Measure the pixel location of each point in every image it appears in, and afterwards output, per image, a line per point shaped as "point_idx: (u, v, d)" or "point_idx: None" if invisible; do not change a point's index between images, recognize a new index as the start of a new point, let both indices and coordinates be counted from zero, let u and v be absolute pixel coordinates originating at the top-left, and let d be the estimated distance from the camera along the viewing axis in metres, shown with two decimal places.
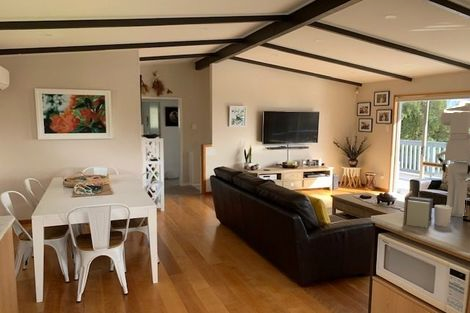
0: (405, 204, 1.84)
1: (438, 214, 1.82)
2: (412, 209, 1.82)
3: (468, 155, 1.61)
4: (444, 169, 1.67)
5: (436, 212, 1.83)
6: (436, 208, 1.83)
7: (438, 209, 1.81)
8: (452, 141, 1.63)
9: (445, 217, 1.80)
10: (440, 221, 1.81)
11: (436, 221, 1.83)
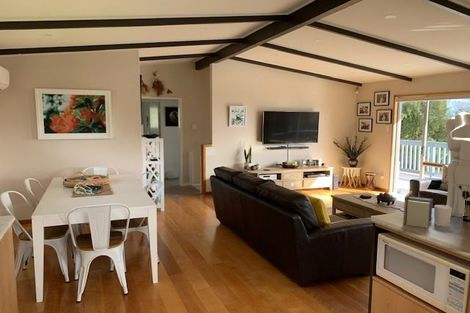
0: (405, 204, 1.84)
1: (438, 214, 1.82)
2: (412, 209, 1.82)
3: None
4: (464, 196, 1.76)
5: (436, 212, 1.83)
6: (436, 208, 1.83)
7: (438, 209, 1.81)
8: (462, 167, 1.75)
9: (445, 217, 1.80)
10: (440, 221, 1.81)
11: (436, 221, 1.83)
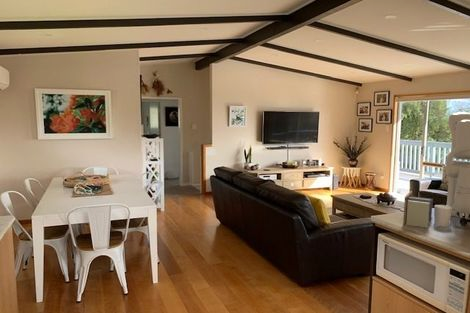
0: (405, 204, 1.84)
1: (438, 214, 1.82)
2: (412, 209, 1.82)
3: None
4: (462, 223, 1.77)
5: (436, 212, 1.83)
6: (436, 208, 1.83)
7: (438, 209, 1.81)
8: (460, 194, 1.76)
9: (445, 217, 1.80)
10: (440, 221, 1.81)
11: (436, 221, 1.83)
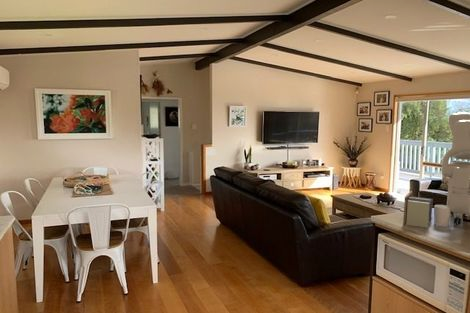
0: (405, 204, 1.84)
1: (438, 214, 1.82)
2: (412, 209, 1.82)
3: (468, 208, 1.75)
4: (456, 223, 1.79)
5: (436, 212, 1.83)
6: (436, 208, 1.83)
7: (438, 209, 1.82)
8: (454, 194, 1.78)
9: (445, 217, 1.80)
10: (440, 221, 1.81)
11: (436, 221, 1.83)
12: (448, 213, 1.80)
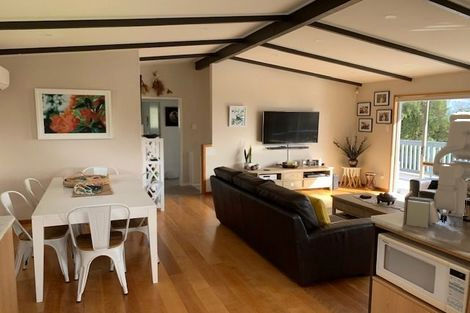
0: (405, 204, 1.84)
1: None
2: (412, 209, 1.82)
3: (454, 205, 1.78)
4: (442, 220, 1.81)
5: None
6: None
7: None
8: (440, 191, 1.81)
9: (431, 213, 1.83)
10: (429, 218, 1.84)
11: None
12: (433, 209, 1.83)
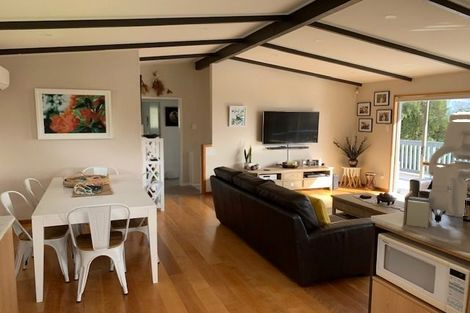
0: (405, 204, 1.84)
1: None
2: (412, 209, 1.82)
3: (448, 205, 1.80)
4: (436, 220, 1.84)
5: None
6: None
7: None
8: (434, 192, 1.83)
9: None
10: None
11: None
12: None
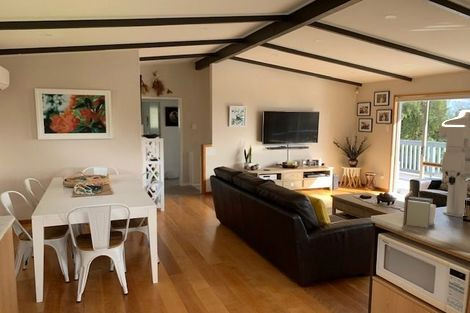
0: (405, 204, 1.84)
1: None
2: (412, 209, 1.82)
3: (463, 166, 1.75)
4: (450, 182, 1.79)
5: None
6: None
7: None
8: (448, 153, 1.78)
9: (429, 215, 1.84)
10: None
11: None
12: (432, 211, 1.84)
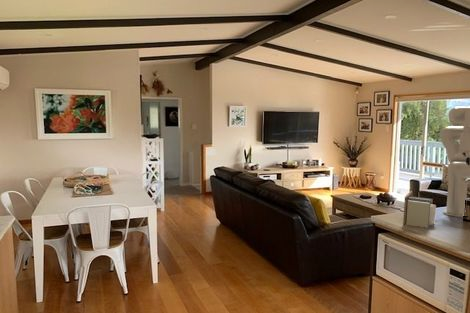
0: (405, 204, 1.84)
1: None
2: (412, 209, 1.82)
3: None
4: (468, 162, 1.81)
5: None
6: None
7: None
8: (466, 134, 1.80)
9: (429, 215, 1.84)
10: None
11: None
12: (432, 211, 1.84)
